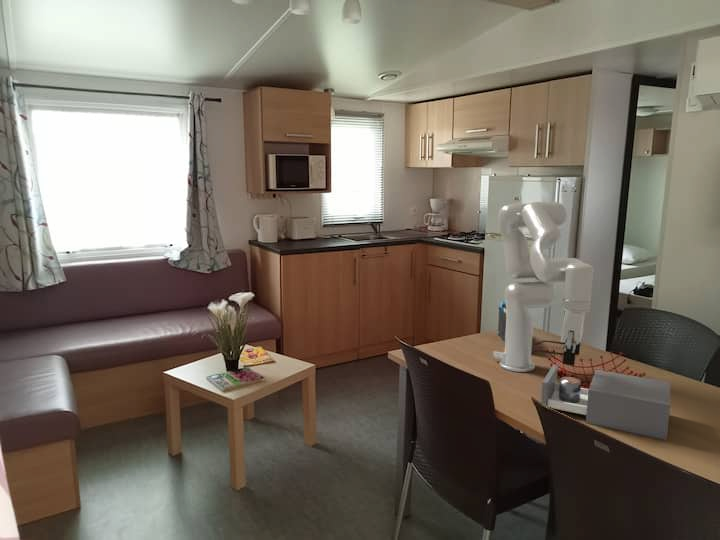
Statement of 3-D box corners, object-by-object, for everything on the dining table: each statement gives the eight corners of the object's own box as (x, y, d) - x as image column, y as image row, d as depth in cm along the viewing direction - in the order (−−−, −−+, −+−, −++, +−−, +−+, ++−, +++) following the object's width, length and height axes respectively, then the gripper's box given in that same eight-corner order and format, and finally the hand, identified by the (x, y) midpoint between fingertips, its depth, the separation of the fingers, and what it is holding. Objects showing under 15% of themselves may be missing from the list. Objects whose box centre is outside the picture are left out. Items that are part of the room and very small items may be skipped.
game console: (495, 332, 236) (497, 300, 234) (509, 332, 236) (511, 300, 234) (513, 352, 209) (515, 317, 206) (529, 352, 209) (531, 317, 206)
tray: (540, 409, 156) (542, 382, 154) (551, 389, 170) (553, 364, 169) (609, 423, 147) (611, 395, 145) (614, 401, 161) (616, 375, 160)
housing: (585, 422, 149) (588, 389, 148) (593, 399, 165) (595, 369, 163) (666, 440, 140) (670, 405, 138) (666, 413, 155) (669, 382, 153)
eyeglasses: (564, 361, 200) (565, 348, 199) (524, 354, 208) (525, 342, 207) (570, 350, 213) (571, 338, 212) (532, 344, 220) (533, 333, 219)
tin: (557, 400, 159) (558, 381, 158) (560, 393, 164) (561, 375, 163) (578, 404, 156) (579, 385, 155) (581, 397, 161) (582, 378, 160)
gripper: (567, 296, 164) (562, 348, 167) (557, 309, 149) (552, 366, 152) (593, 299, 160) (588, 352, 163) (586, 313, 145) (580, 371, 149)
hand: (571, 359), depth 158 cm, fingers open, 9 cm apart
